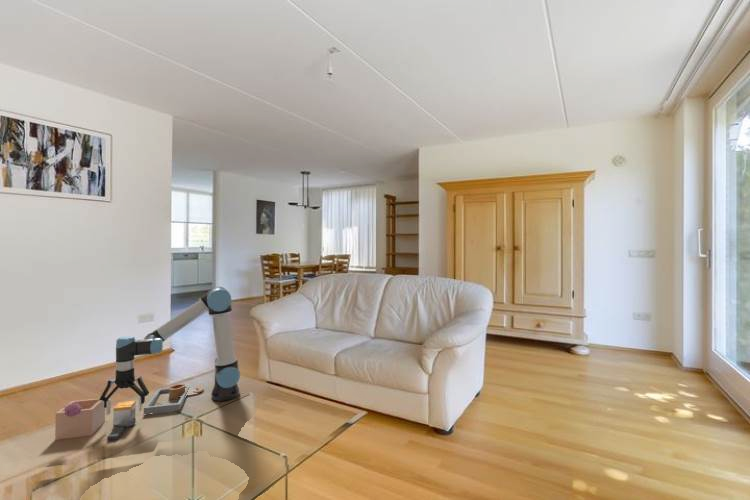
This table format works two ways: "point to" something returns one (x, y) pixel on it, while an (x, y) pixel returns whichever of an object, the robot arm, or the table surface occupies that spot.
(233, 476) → the table surface
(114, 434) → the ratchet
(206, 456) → the table surface
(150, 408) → the frame
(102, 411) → the open pinkish beige box
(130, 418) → the orange-topped grey block
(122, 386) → the robot arm
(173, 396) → the brown long-handled pot
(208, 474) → the table surface
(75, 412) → the artificial flower
